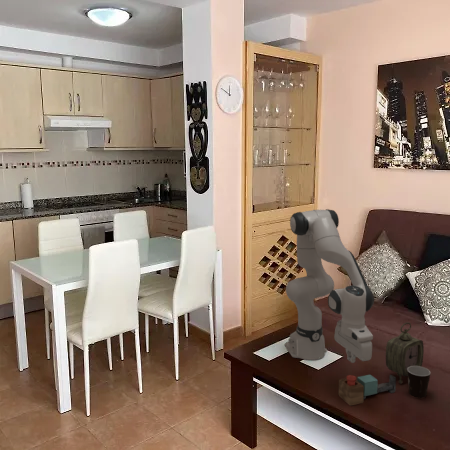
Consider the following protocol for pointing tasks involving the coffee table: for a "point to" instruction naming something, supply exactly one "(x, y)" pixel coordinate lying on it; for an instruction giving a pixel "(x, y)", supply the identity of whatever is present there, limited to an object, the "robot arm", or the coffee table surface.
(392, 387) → the rail
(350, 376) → the red rounded peg
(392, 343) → the tabletop clock
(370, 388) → the block
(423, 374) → the coffee mug
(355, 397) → the wooden box
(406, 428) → the coffee table surface
